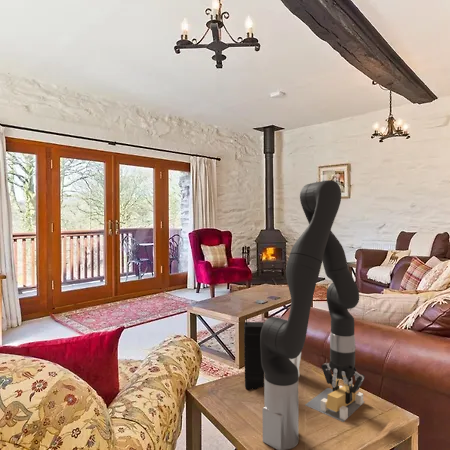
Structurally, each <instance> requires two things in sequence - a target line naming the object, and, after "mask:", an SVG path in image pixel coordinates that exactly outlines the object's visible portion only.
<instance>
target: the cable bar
mask: <svg viewBox="0 0 450 450" xmlns="http://www.w3.org/2000/svg"><path fill="white" fill-rule="evenodd" d="M342 386H343V387H341V388H339V389H338V390H335V391H333V392H331V393H329V394H328V397H327V408H328V409H331V410H333V411H335V412H337V411H339V410H340V408H341V407H342V406H345V407H346V406H347V405H349V404H351V403H352V402H354V401H355V399H356V394H357V391H356V392H355V393H352V401H351V402H350V403H349V404H346V403H345V397H346V394H345V392H346V388H345V385H342Z"/></svg>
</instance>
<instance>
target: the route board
mask: <svg viewBox="0 0 450 450" xmlns="http://www.w3.org/2000/svg"><path fill="white" fill-rule="evenodd" d="M338 386H339V388H341V387H343V386H344V385H340V384H339V385H338ZM331 392H333V388H329V387H327V388H325V389H324V390H323V391H322V392H320V393H318V394H317V395H316V396H314V397H313V398H312V399H311V400H309V401H308V402H307V403H305V404H304V406H306V407H308V408H310V409H313V410H315V411H317V412H319V413H322V414H324V415H326V416H328V417H330V418H333V419H335V420H337V421H340V422H342V423H344V422H345V421H346V420H348V419H349V418H350V417H351V416H352V415H353V414H354V413H355V412H356V411H357V410H358V409H359V408H360V407H361V406H362V405H363V404H364V403H365V401H364V393H363V392H360V391H357V392H356V399H355V401H354V402H352V403H351V404H349V405H347V406H346V407H345V406H342V407H341V408H340V410H339V411H337V412H335V411H333V410H331V409H328V408H327V397H328V394H329V393H331Z"/></svg>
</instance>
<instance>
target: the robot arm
mask: <svg viewBox="0 0 450 450" xmlns="http://www.w3.org/2000/svg"><path fill="white" fill-rule="evenodd" d="M341 189H342V188H341V187H340V185H339V183H338V182H336V181H335V180H330V179H329V180H327V179H326V180H322V181H316V182H312V183H308V184H305V185H304V186H303V187H302V188H301V189H300V194H299V200H300V201H299V202H300V205H301V208H302V210H303V214H304V215H305V218H306V220H307V222H308V225H307V227H306V228H305V230H304V231H303V232H302V234H301V235H300V236H299V237H298V238H297V240H296V241H295V243H294V244H293V246H292V247H291V249H290V252H289V255H288V259H287V263H286V266H285V277H286V282H287V286H288V291H289V295H290V301H291V302H290V310H289V315H288V319H283V318H280V317H275V316H271V317H268V318H267V319H266V320H264V322H263V323H264V324H263V326H262V329H261V335H260V347H261V364H262V368H263V371H264V387H263V389H264V390H263V391H264V393H263V394H264V395H263V396H264V398H263V400H264V406H263V407H262V442H263V443H264V444H266V445H268V446H269V447H271V448H273V449H276V450H291V449H294V448H295V447H297V445H298V444H299V377H298V369H297V367H296V366H295V365H294V364H293V363H292V362H291V361H290V359H294V358H296V357H297V356H299V354H300V353H301V354H302V351H303V349H304V346H305V342H306V338H307V332H308V326H309V319H310V314H311V307H312V303H313V299H314V298H313V297H314V294H315V291H316V285H317V283H318V279H319V276H320V272H321V267H322V265H323V270H324V272H325V275H326V277H327V278H328V279H330V281H332V282H331V283H330V284H329V286H328V287H327V290H326V303H327V307H328V312H329V316H330V335H329V362H325V363H323V364H322V365H321V370H322V372H323V375H324V378H325V381H326V383H327V384H328V385H330V386H332V389H333V391H335V390H338V389H339V386H340V381H341V380H342V381H343V386H345V388H346V392H345V394H346V397H345V403H346V404H349V403H350V402H351V401H352V393H355V392H356V393H357V392H359V390H360V388H361V386H362V384H363V382H364V380H365V377H366V376H365V375H364V374H363V373H362V374H360V373H359V372H358V371H357V368H356V366H355V365H356V338H355V337H356V336H355V317H354V316H353V315H352V313H350V312H349V309H350V310H351V309H354V308H355V307H357V306H358V304H359V302H360V292H359V287H358V286H357V283H356V282H355V280H354V277H353V275H352V274H351V271H350V270H349V265H348V261H347V257H346V253H345V250H344V247H343V245H342V244H341V242H340V240H339V239H338V238H337V236H336V235H335V234H334V233H333V231H332V228H333V225H334V222H335V219H336V218H337V214H338V211H339V209H340V205H341V199H342V190H341ZM353 376H354V381H355V382H354V384H353Z"/></svg>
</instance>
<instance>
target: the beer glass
mask: <svg viewBox="0 0 450 450" xmlns="http://www.w3.org/2000/svg"><path fill="white" fill-rule="evenodd" d="M301 358H302V352H301V353H300V354H299V356H297V357H296V358H294V359H290V361H291V362H292V363H293V364H294V365H295V366H296V367H297V369H298V378H300V377H301V376H300V364H301Z"/></svg>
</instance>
